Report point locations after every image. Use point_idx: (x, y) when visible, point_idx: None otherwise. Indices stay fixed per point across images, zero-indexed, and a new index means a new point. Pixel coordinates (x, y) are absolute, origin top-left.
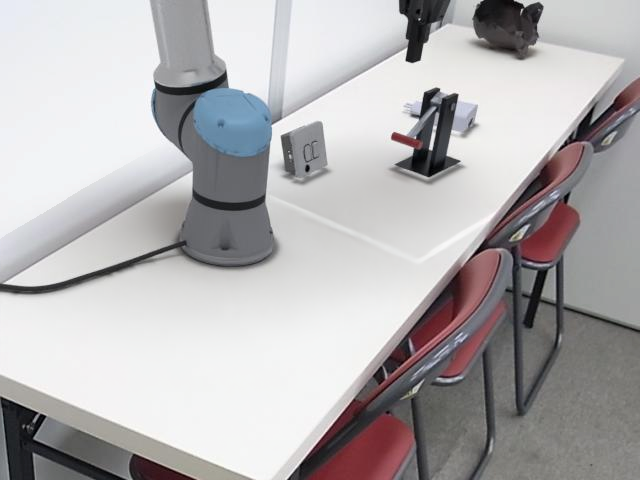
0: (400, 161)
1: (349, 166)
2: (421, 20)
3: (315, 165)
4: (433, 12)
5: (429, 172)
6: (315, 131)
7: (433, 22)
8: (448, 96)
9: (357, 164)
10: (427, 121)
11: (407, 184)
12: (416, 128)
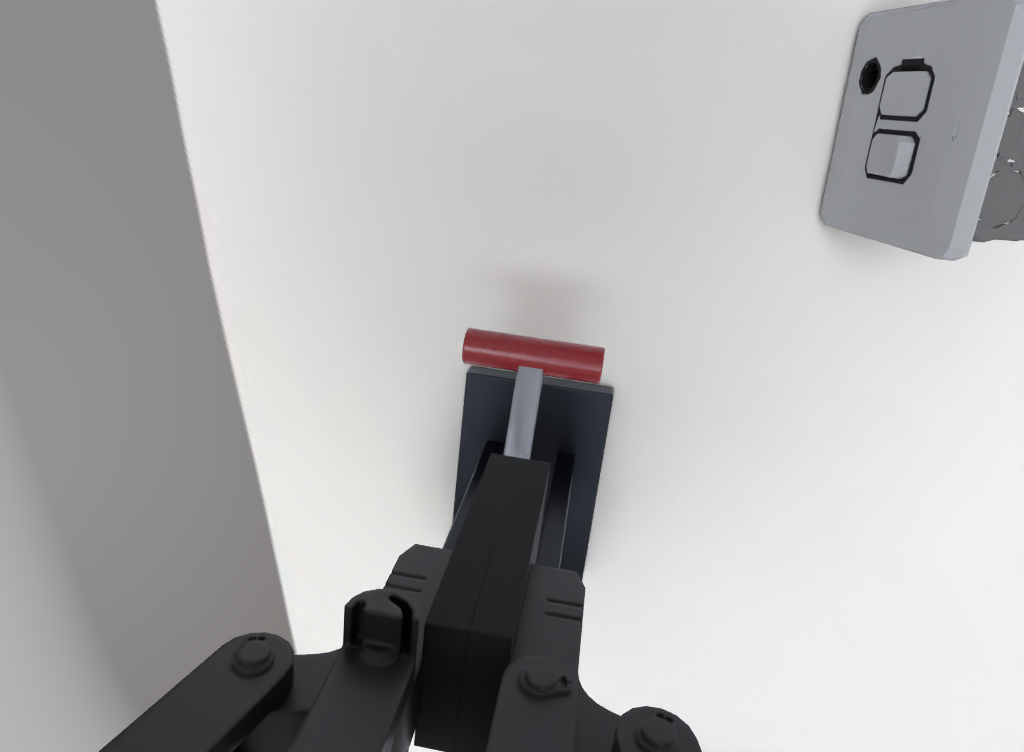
0: (605, 428)
1: (760, 312)
2: (394, 647)
3: (854, 137)
4: (230, 713)
5: (483, 407)
6: (936, 184)
7: (254, 635)
8: None
9: (743, 348)
10: None
11: (519, 308)
12: (516, 421)
